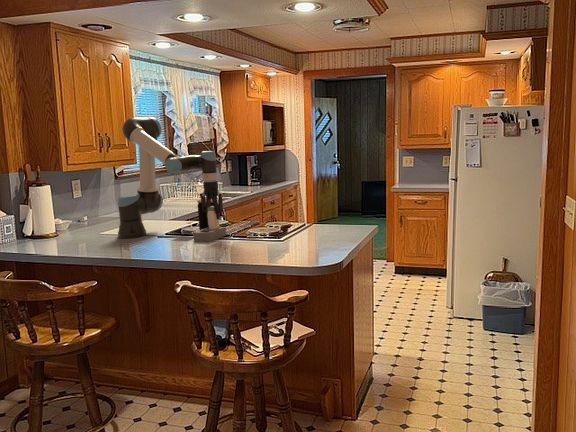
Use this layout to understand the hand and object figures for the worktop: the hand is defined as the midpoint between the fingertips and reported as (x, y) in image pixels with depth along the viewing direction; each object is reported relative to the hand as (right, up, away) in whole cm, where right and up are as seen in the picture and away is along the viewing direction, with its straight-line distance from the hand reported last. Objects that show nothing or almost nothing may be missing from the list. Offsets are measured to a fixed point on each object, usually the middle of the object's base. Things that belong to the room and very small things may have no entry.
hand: (213, 225), depth 294 cm
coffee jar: (-5, -4, +17) cm, 18 cm away
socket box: (-1, -7, -2) cm, 8 cm away
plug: (0, -3, 0) cm, 3 cm away
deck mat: (-15, -8, -1) cm, 17 cm away
